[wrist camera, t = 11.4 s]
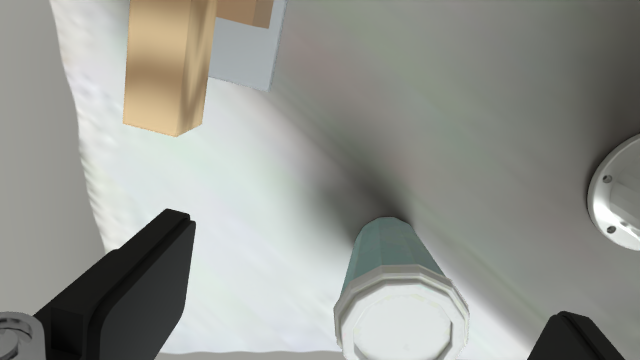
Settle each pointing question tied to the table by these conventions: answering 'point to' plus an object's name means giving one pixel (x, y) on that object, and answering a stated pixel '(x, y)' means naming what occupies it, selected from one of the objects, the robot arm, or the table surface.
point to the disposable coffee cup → (398, 300)
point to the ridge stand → (246, 41)
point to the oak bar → (168, 64)
